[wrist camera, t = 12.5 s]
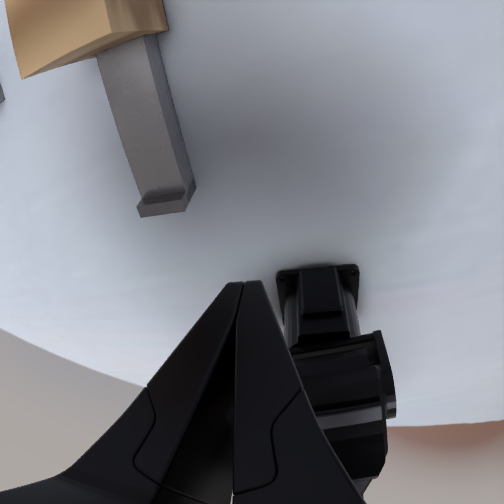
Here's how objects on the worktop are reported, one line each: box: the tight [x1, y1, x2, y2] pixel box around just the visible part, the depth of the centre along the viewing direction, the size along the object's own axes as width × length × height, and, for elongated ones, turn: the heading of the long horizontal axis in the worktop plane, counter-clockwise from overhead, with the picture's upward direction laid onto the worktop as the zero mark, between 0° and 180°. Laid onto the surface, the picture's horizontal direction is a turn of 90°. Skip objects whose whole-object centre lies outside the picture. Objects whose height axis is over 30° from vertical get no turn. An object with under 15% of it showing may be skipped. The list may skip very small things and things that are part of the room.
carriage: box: [5, 0, 168, 79], centre depth 10 cm, size 5×5×7 cm
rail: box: [96, 34, 196, 218], centre depth 15 cm, size 17×3×3 cm, turn 10°
